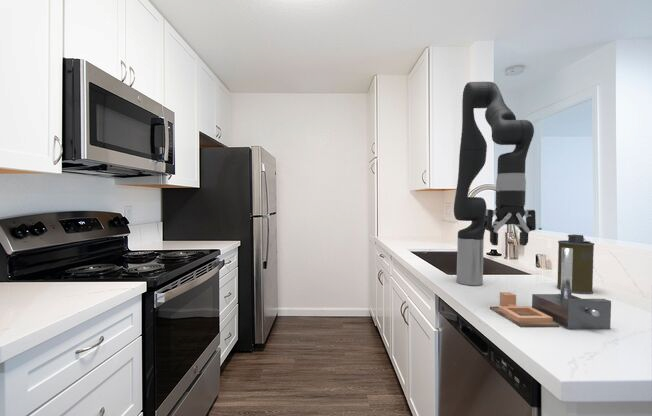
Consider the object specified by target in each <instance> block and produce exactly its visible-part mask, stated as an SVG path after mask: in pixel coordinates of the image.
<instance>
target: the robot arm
mask: <svg viewBox="0 0 652 416" xmlns="http://www.w3.org/2000/svg"><path fill="white" fill-rule="evenodd" d="M461 101H462V103H461V104H462V105H461V109H462V111H461V116H462V118H461V122H462V123H461V137H460V145H459V157H458V175H457V181H456V191H455V196H454V201H453V216H454V219H455V220H456V221H459V222H460V221H462V222H471V224H470V225H468V226H467V227H465V228H462V229H459V230H458V231H457V251H456V253H457V254H456V256H457V257H456V282H457V283H458V284H461V285H465V286H476V287H477V286H482V285H483V284H484V247H485V246H484V244H485V243H484V239H485V232H486V231H488V232H489V242H490V244H491V245H492V246H499V232H498V231H499V230H500V229H501V228H502V227H504V226H505V225H512V226H513V225H514V226H516V227H517V228H518V230H519V231H520V232H519V242H518V243H519V245H520V246H527V244H528V243H529V233H530V232H532V231H536V228H537V227H536V226H537V224H536V210H535V209H526V210H525V205H526V193H527V192H526V189H527V188H526V187H527V181H526V179H527V178H526V161H527V160H526V159H527V156H528V152H529V149H530V146H531V144H532V143H531V142H532V141H533V139H534V138H533V137H534V134H535V127H534V125H533V123H532V122H531V121H530V120H529V119H528V120H527V119H517V116H516V115H515V114H514V112H513V111H512V109H511V108H510V107H508V106H507V105H506V103H505V100H504V98H503V94H502V93H501V90H500V89H499V86H498V85H497V84H496V83H495V82H493V81H469V82H467V83H466V84H465V86H464V87H463V92H462V100H461ZM475 109H486V110H485V112H484V118H485V122H486V123H487V124H488V125H489V127H490V128H491V139H492V142H493V143H494V144H496V145H499V146H515V147H514V149H513V151H510V152H505V153H502V154H500V155H499V156H498V157H497V168H496V169H497V175H496V180H495V209H491V208H490V209H489V208H487V202H486V200H485V199H484V198H483V197H480V196H478V197H477V196H468V194H469V191H470V188H471V186H472V183H473V182H474V180H475V178H476V177H478V175H479V174H480V172H481V171H482V170H483V168H484V166H485V164H486V161H487V151H488V144H487V141H486V139H485V137H484V135H483V133H482V131H481V130H480V128H479V126H478V125H477V122H476V118H475V111H474V110H475ZM494 217H496V218H495V220H493V218H494ZM524 217H525V220H524Z"/></svg>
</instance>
